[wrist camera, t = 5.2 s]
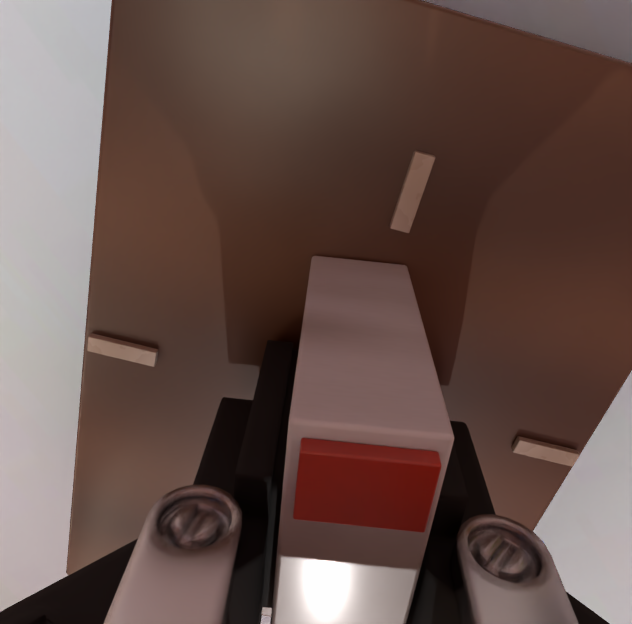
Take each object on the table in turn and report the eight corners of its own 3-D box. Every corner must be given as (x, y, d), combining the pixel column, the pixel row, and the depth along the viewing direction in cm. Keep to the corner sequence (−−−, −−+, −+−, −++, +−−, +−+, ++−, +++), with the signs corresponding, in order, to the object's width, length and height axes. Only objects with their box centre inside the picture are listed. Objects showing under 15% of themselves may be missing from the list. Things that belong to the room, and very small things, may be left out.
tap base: (437, 552, 19) (458, 662, 15) (113, 481, 18) (62, 580, 15) (677, 91, 12) (801, 112, 9) (179, -57, 11) (112, -94, 8)
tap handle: (362, 516, 13) (372, 777, 9) (287, 508, 13) (257, 767, 9) (408, 264, 10) (461, 452, 6) (311, 254, 10) (286, 434, 6)
